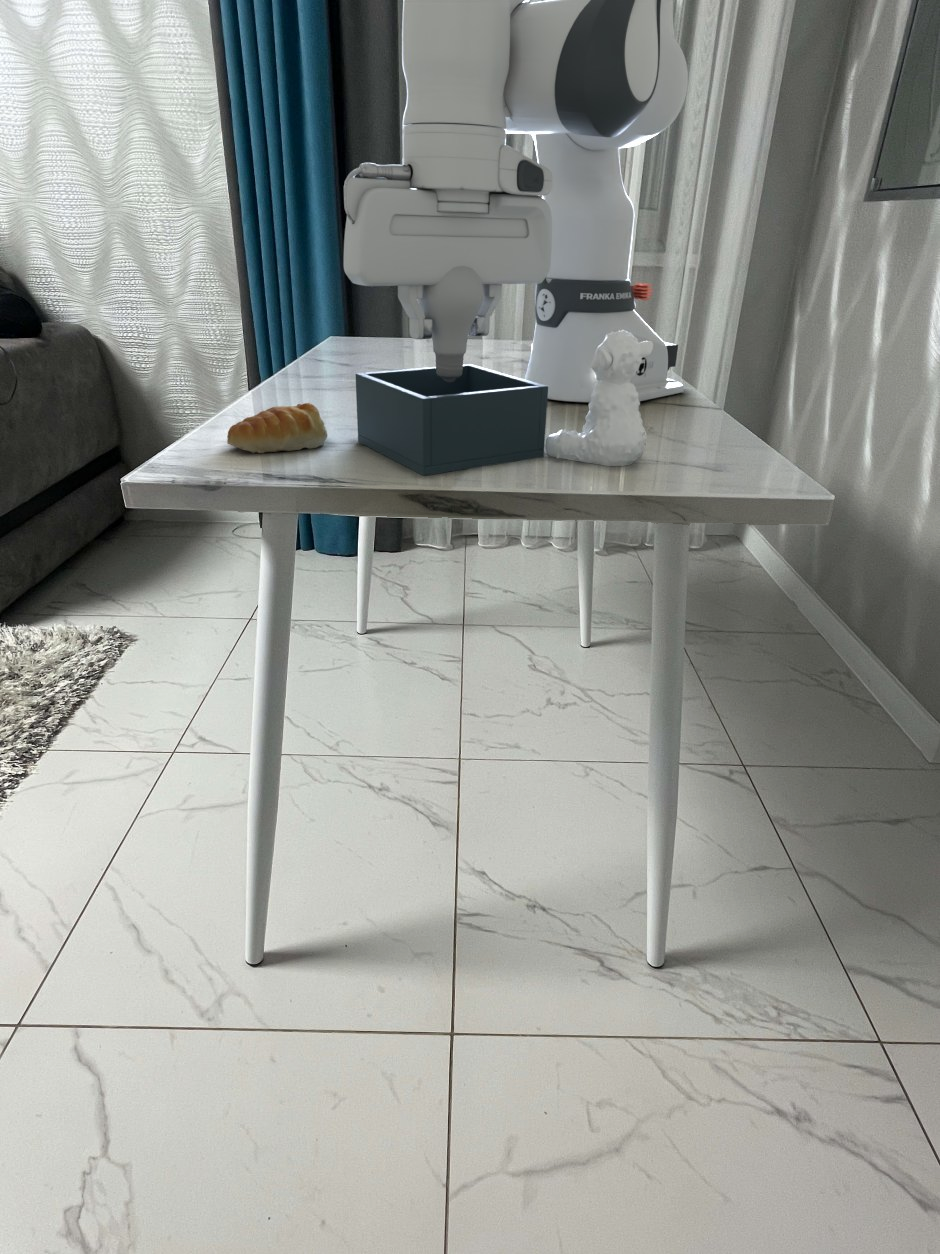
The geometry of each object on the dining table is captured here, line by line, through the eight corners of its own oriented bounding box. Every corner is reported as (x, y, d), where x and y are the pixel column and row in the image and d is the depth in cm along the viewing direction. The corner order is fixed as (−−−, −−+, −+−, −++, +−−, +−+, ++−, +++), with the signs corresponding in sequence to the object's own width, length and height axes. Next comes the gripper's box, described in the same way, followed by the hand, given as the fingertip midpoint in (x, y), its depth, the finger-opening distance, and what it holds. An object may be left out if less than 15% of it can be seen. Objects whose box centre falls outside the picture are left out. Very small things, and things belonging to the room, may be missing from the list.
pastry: (246, 460, 76) (241, 419, 74) (216, 445, 81) (211, 406, 79) (333, 446, 81) (331, 407, 79) (301, 432, 86) (298, 396, 84)
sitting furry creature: (611, 442, 85) (624, 321, 80) (672, 462, 79) (690, 332, 73) (540, 454, 80) (549, 326, 75) (599, 476, 74) (612, 338, 69)
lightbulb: (492, 381, 79) (497, 258, 74) (458, 390, 74) (461, 259, 69) (440, 374, 82) (442, 254, 77) (404, 382, 77) (403, 255, 72)
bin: (469, 427, 90) (471, 363, 86) (543, 457, 79) (548, 386, 76) (357, 441, 83) (355, 373, 80) (423, 475, 73) (423, 399, 70)
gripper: (360, 159, 62) (365, 347, 69) (567, 174, 73) (555, 336, 79) (327, 161, 67) (334, 337, 73) (525, 175, 77) (517, 328, 84)
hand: (450, 337), depth 76 cm, fingers closed on lightbulb, 5 cm apart
